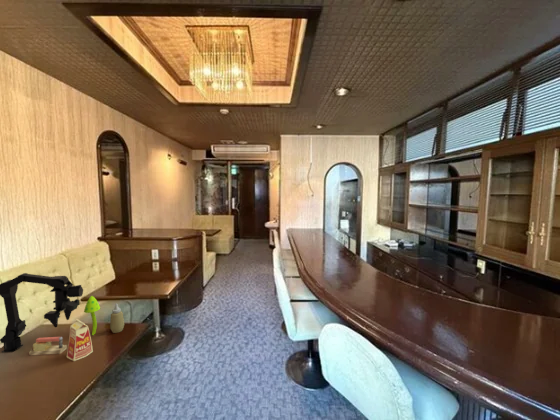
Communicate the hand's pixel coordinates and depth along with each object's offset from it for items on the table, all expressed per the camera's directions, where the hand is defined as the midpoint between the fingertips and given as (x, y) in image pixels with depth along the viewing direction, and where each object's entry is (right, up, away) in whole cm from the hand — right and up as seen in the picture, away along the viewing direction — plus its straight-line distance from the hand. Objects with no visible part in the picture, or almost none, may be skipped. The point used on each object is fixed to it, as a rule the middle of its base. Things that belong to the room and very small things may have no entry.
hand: (62, 323), depth 157 cm
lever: (+1, -6, -9) cm, 11 cm away
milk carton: (+20, -12, -12) cm, 27 cm away
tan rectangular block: (-3, -10, -10) cm, 14 cm away
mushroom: (+12, -11, +9) cm, 19 cm away
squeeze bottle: (+25, -11, +13) cm, 30 cm away
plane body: (0, -12, -9) cm, 15 cm away
